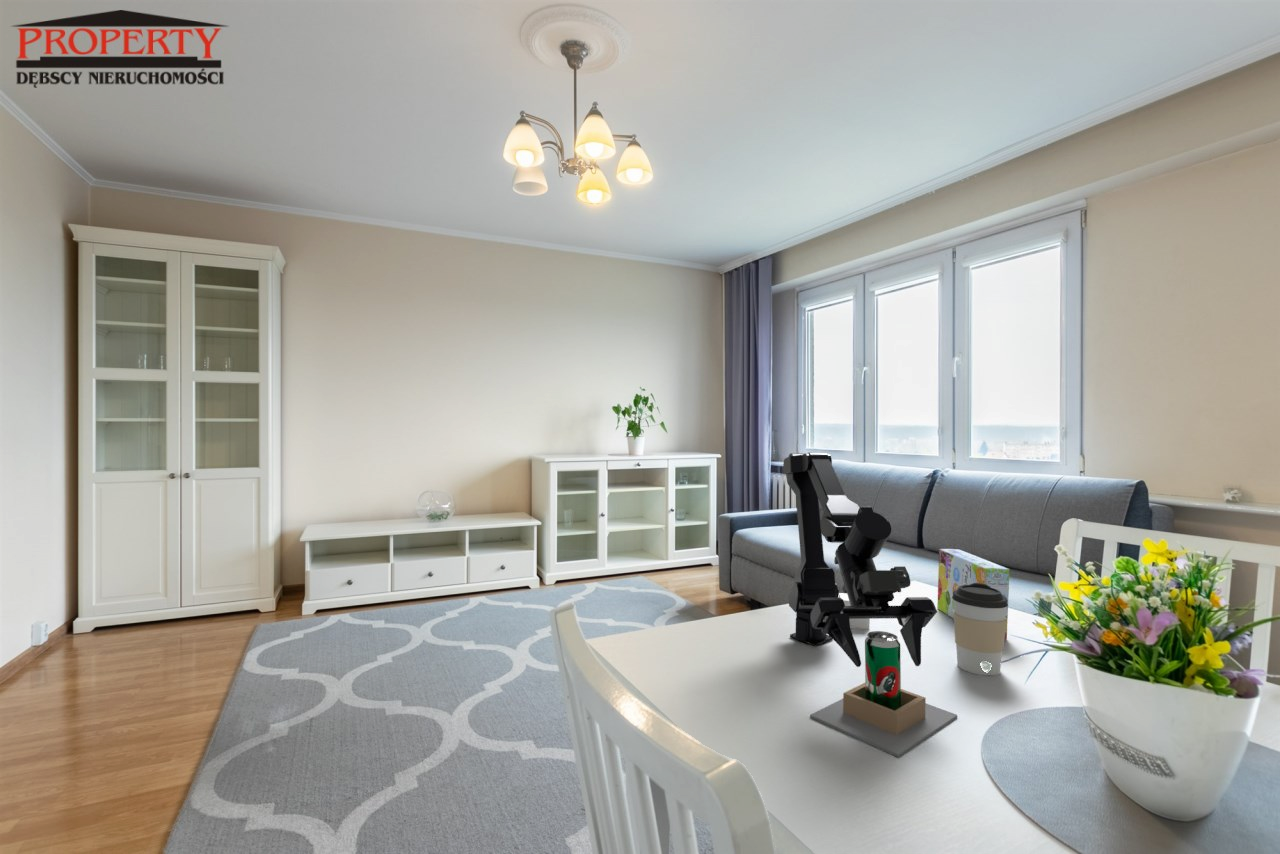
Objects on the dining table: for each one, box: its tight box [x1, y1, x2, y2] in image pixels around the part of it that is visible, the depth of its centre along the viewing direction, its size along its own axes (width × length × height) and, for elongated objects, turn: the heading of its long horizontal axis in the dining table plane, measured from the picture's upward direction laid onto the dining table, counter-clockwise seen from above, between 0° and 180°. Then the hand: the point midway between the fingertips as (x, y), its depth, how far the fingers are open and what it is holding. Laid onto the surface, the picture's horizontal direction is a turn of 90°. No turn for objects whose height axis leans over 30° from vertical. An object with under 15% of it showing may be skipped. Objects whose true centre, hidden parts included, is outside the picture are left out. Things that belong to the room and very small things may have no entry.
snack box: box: [936, 548, 1010, 640], centre depth 138 cm, size 21×6×15 cm, turn 179°
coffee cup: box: [952, 583, 1009, 676], centre depth 112 cm, size 9×9×15 cm
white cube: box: [838, 592, 871, 630], centre depth 136 cm, size 6×6×6 cm
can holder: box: [809, 682, 958, 758], centre depth 92 cm, size 18×14×3 cm
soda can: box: [864, 630, 902, 711], centre depth 93 cm, size 5×5×12 cm
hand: (888, 665), depth 91 cm, fingers open, 9 cm apart
